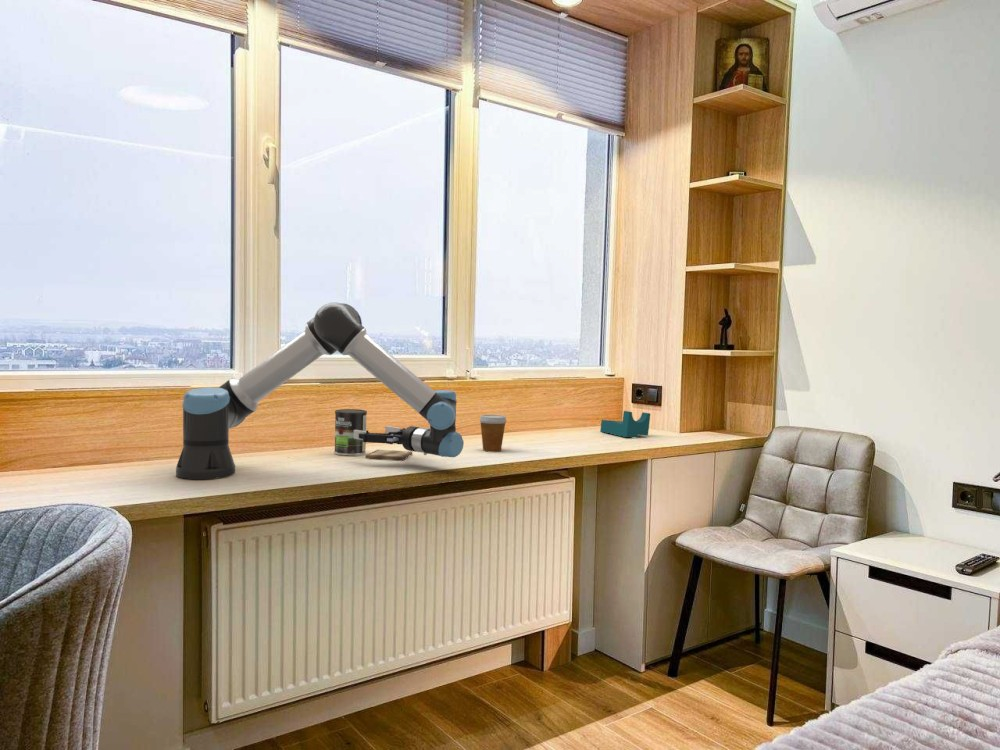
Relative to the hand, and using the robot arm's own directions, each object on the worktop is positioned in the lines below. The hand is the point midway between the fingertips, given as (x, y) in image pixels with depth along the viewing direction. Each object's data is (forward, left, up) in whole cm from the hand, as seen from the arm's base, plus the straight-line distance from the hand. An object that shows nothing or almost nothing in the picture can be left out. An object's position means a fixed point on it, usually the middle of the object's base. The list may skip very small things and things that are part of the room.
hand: (370, 432), depth 240 cm
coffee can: (-8, +5, -8) cm, 13 cm away
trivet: (+6, +3, -8) cm, 10 cm away
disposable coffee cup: (+36, +26, -8) cm, 45 cm away
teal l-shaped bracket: (+82, +83, -8) cm, 116 cm away
